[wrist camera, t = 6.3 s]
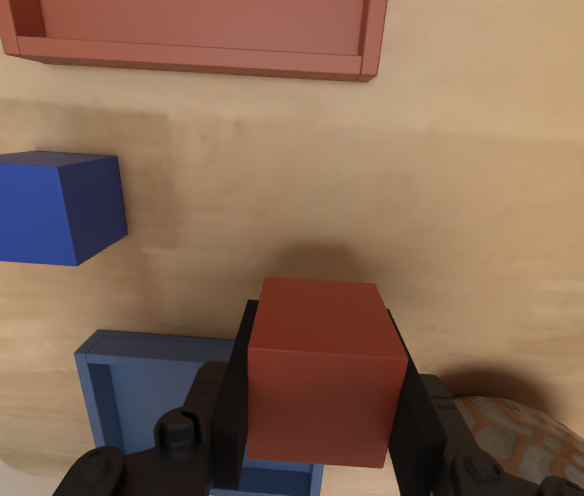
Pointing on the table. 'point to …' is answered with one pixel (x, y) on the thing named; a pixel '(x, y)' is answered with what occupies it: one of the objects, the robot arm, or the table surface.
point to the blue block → (59, 207)
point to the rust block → (322, 374)
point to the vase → (523, 439)
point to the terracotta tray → (202, 35)
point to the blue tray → (167, 401)
